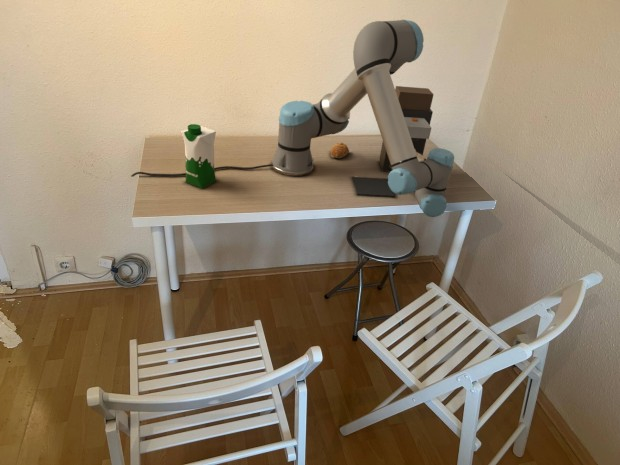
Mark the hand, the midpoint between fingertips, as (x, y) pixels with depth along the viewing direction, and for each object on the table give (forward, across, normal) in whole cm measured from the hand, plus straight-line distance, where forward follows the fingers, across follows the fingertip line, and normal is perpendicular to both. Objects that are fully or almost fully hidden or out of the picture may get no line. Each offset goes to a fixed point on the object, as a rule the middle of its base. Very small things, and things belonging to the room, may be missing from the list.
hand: (406, 155), depth 172 cm
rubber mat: (-10, -13, -8) cm, 19 cm away
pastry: (+17, -22, -9) cm, 29 cm away
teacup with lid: (-5, 0, -7) cm, 8 cm away
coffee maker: (+3, 0, -8) cm, 9 cm away
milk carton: (-13, -72, -9) cm, 74 cm away
